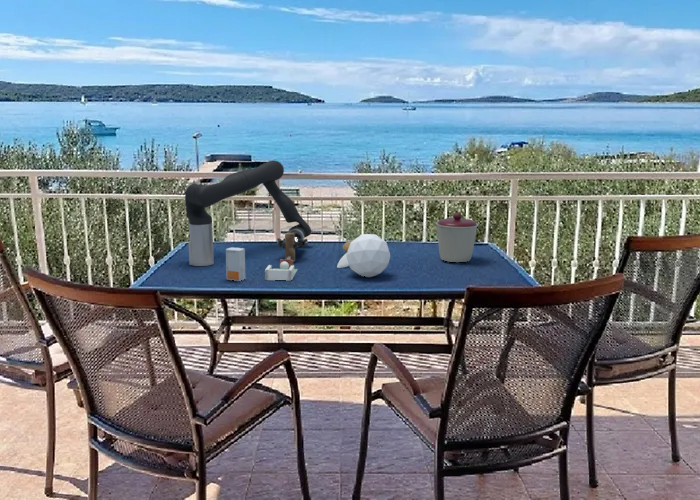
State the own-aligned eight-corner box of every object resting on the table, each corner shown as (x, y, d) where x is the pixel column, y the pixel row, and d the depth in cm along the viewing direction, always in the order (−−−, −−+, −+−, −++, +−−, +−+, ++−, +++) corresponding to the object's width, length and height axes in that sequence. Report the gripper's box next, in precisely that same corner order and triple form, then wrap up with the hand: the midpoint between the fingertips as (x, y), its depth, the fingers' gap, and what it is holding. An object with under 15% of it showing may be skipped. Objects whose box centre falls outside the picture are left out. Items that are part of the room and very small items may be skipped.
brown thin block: (280, 268, 242) (279, 239, 240) (285, 260, 257) (285, 232, 255) (291, 268, 242) (290, 239, 240) (296, 260, 257) (295, 232, 254)
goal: (265, 280, 225) (264, 269, 224) (268, 275, 233) (268, 265, 232) (291, 280, 225) (291, 270, 224) (294, 275, 232) (294, 265, 232)
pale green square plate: (268, 274, 233) (268, 274, 233) (273, 269, 242) (273, 268, 242) (294, 275, 233) (294, 274, 233) (297, 269, 242) (297, 268, 242)
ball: (279, 271, 238) (279, 262, 237) (280, 269, 241) (280, 260, 240) (288, 271, 238) (288, 262, 237) (289, 269, 241) (289, 260, 240)
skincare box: (226, 280, 225) (225, 249, 222) (232, 277, 229) (231, 246, 226) (240, 281, 223) (239, 250, 220) (246, 279, 226) (245, 248, 224)
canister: (464, 267, 247) (467, 217, 243) (426, 261, 258) (428, 213, 253) (483, 260, 261) (486, 212, 257) (446, 254, 272) (448, 208, 268)
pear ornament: (377, 229, 221) (368, 218, 248) (328, 264, 222) (324, 249, 249) (402, 264, 224) (390, 249, 251) (353, 298, 225) (347, 280, 252)
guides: (280, 267, 245) (279, 260, 244) (280, 266, 246) (280, 259, 245) (292, 268, 244) (292, 260, 244) (293, 267, 246) (293, 260, 245)
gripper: (279, 229, 267) (272, 236, 250) (310, 230, 266) (305, 237, 250) (279, 246, 269) (272, 254, 252) (310, 246, 268) (306, 255, 251)
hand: (289, 246), depth 251 cm, fingers closed on brown thin block, 3 cm apart
